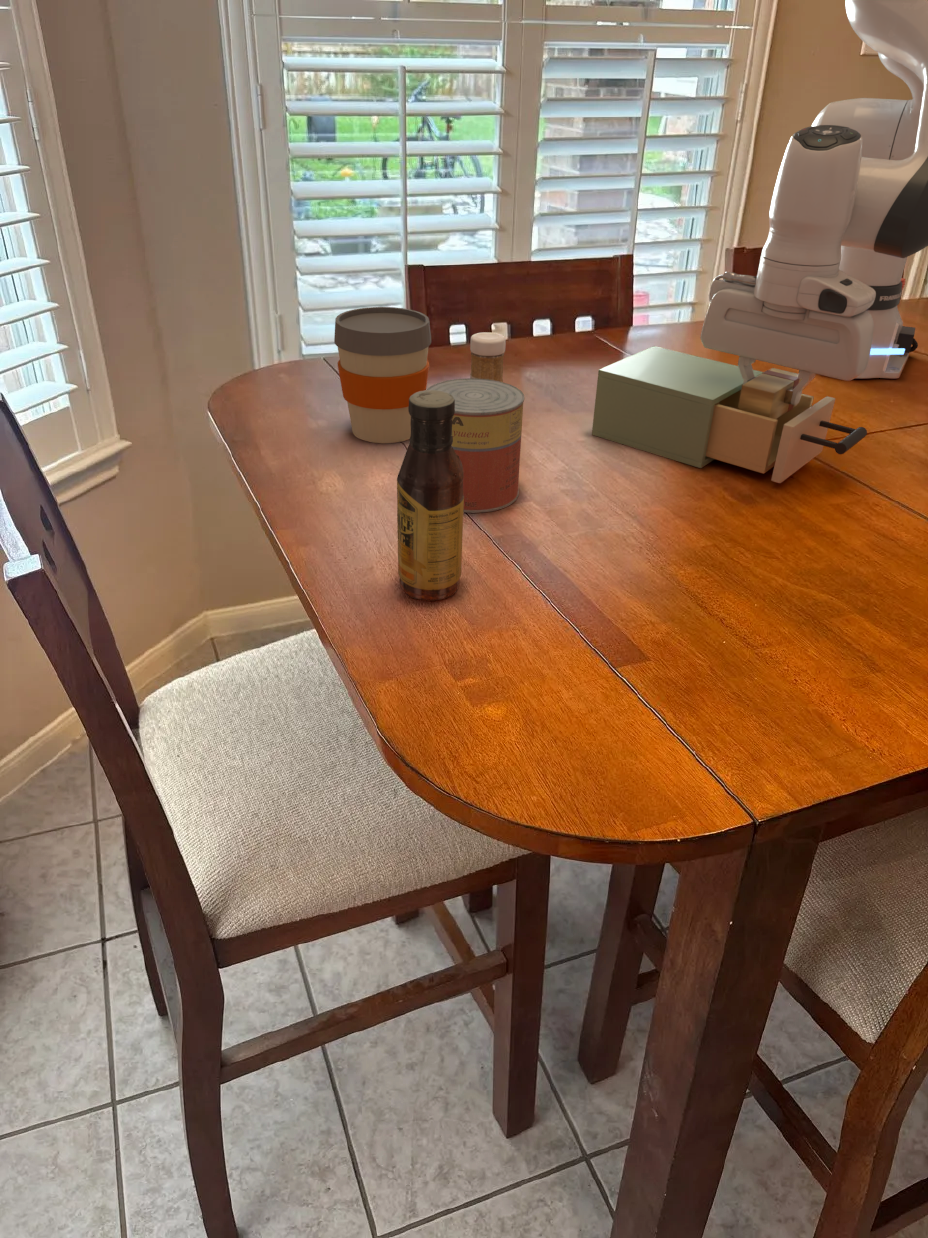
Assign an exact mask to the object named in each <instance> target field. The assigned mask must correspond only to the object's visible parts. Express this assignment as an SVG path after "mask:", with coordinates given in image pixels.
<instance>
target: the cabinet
mask: <svg viewBox="0 0 928 1238" xmlns="http://www.w3.org/2000/svg"><path fill="white" fill-rule="evenodd" d="M597 371H598V372H597V381H596V390H595V391H596V392H595V399H594V402H595V403H594V408H593V409H594V410H593V419H592V427H591V428H592V430H591V435H592V436H594V437H598V438H601V439H605V440H607V441H611V442H614V443H618V444H620V445H624V446H627V447H630V448H633V449H637V450H640V451H643V452H647V453H650V454H652V455H653V454H654V455H657V456H660V457H662V458H666V459H669V460H673V461H675V462H678V463H681V464H685V465H689V466H692V467H695V468H698V469H702V468H703V467H705V466H707V465H708V464H710V463H711V462H713V461H715V459H713V458H710V457H707V456H706V450H707V444H708V439H709V433H710V428H711V422H712V417H713V411H714V406H715V404H716V403H718V402H720V401H722V400H723V399H725V398H727V397H729V396H731V395H732V394H734V393H736V392H738V391H740V390H741V389H742V385H743V381H744V379H743V378H742V375H741V372H740V369H739V366H738V365H735V364H732V363H728V362H723V361H719V360H715V359H711V358H706V357H703V356H698V355H693V354H689V353H685V352H681V351H677V350H673V349H670V348H669V349H668V348H664V347H660V346H656V345H653V346H650V347H648V348H646V349H644V350H641V351H639V352H636V353H634V354H632V355H629V356H627V357H625V358H623V359H620V360H618V361H616V362H613V363H611V364H609V365H607V366H604V367H602V368H599V369H598V370H597ZM753 372H754V376H755V377H758V376H759V375H761V374H762V373H763V372H764V371H761V370H757V369H753Z"/></svg>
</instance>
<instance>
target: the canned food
mask: <svg viewBox="0 0 928 1238" xmlns="http://www.w3.org/2000/svg"><path fill="white" fill-rule="evenodd" d="M426 390H438V391H443V392H447V393H449V394H451V395H452V396H453V398H454V400H455V413H454V416H453V418H452V437H453V444H452V447H453V449H454V451H455V453H456V454H457V455H458V456H459V458H460V460H461V462H462V465H463V472H464V478H463V495H464V508H463V513H466V514H482V513H483V514H484V513H491V512H496V511H499V510H502V509H506V508H507V507H509V506H512V505H513V504H514V503H515V502H516V501H517V499H518V498H519V493H520V491H519V482H520V481H519V480H520V478H519V477H520V466H521V464H520V463H521V449H522V448H521V447H522V430H523V416H524V415H523V414H524V413H523V412H524V402H525V394H524V392H523V391H522V390H520V389H519V387H517V386H515V385H513V384H509V383H507V382H504V381H503V382H500V381H495V380H488V379H474V378H470V377H469V378H467V377H466V378H454V379H449V380H444V381H440V382H437V383H434V384H433V385H431V386H429V387H428V388H426Z"/></svg>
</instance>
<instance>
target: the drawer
mask: <svg viewBox="0 0 928 1238" xmlns="http://www.w3.org/2000/svg"><path fill="white" fill-rule="evenodd" d="M740 394H741V390H740V391H738V392H736V393H734V394H732V395H731V396H729V397H727V398H725V399H723V400H722V401H720V402H718V403H716V404H715V406H714V411H713V417H712V422H711V428H710V433H709V439H708V444H707V450H706V456H707V457H710V458H713V459H714V460H716V461H720V462H723V463H727V464H730V465H733V466H737V467H740V468H743V469H746V470H750V471H753V472H756V473H760V474H765V473H767V472H768V471H770V470H771V469H772V468H773V470H772V475H771V479H770V481H771V482H774V483H776V484H782V483H783V482H784V481H786V480H787V479H788V478H789V477H791V476H792V475H793V474H795V473H796V472H798V471H799V470H800V469H801V468H803V467H804V466H806V464H808V463H809V462H811V461H812V460H813V459H815V458H816V457H817V456H818V455H819V454H821V453H822V452H823V450H824V447H826V448H831V449H833V450H834V452H835V453H836V454H838V455H844V454H845V453H846V452H848V451H849V450H850V449H852V448H853V447H854V446H856V445H857V444H858V443H860V441H862V440H863V439H864V438H866V436H867V435H868V430H867V428H866V427H863V426H859V427H857V428H852V427H848V426H846V425H841V424H837V423H834V422H831V418H832V414H833V410H834V406H835V403H836V398H835V397H833V396H828V395H826V396H825V397H823V398H822V399H820V400H819V401H817V402H815V403H814V404H813V402H814V398H815V396H814V395H810V394H806V393H802V394H801V398H800V401H799V403H798V404H797V406H795V407H794V408H793V409H792V410H790V411H789V412H786V413H784V414H783V415H781V416H780V417H778V418H777V419H773V418H769V417H765V416H761V415H757V414H754V413H750V412H746V411H742V410H739V409H738V404H739V399H740ZM828 429H830V430H834V431H837V432H841V433H845V434H848V435H846V436H845V437H844V438H843V439H841V440H840V441H838V442H835V441H832V440H828V439H826V438H827V434H828Z"/></svg>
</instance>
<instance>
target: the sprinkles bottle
mask: <svg viewBox="0 0 928 1238" xmlns="http://www.w3.org/2000/svg"><path fill="white" fill-rule="evenodd" d="M469 341H470V343H469V344H470V345H469V350H470V355H471V356H470V357H471V358H470V374H469V378H474V379H488V380H495V381H500V382H504V379H503V377H504V372H503V371H504V356H505V353H506V347H507V340H506V336H504V335H503V334H501V333H498V332H490V331H489V332H488V331H487V332H486V331H485V332H484V331H483V332H477V333H474V334H472V335H471V336H470V340H469Z"/></svg>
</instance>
